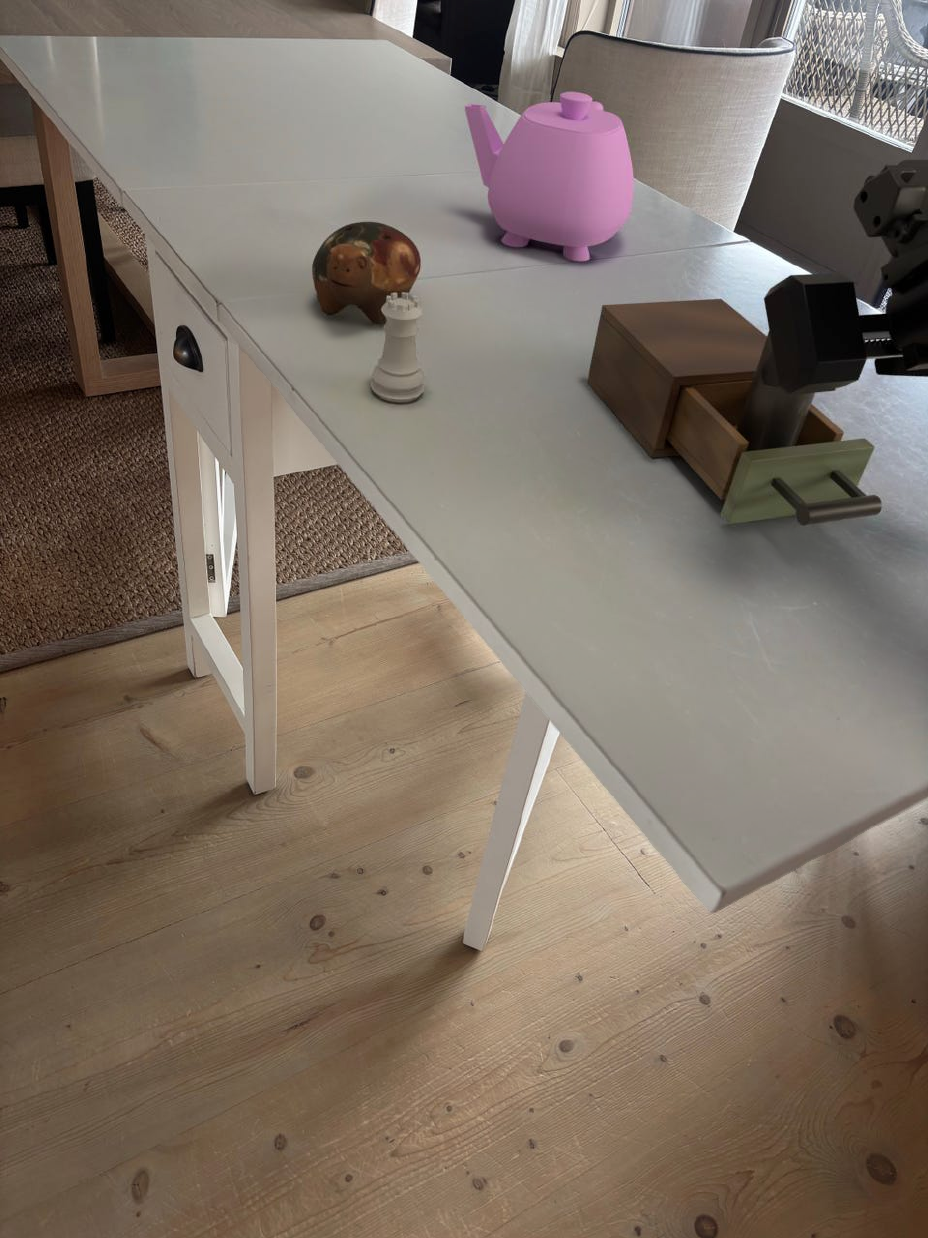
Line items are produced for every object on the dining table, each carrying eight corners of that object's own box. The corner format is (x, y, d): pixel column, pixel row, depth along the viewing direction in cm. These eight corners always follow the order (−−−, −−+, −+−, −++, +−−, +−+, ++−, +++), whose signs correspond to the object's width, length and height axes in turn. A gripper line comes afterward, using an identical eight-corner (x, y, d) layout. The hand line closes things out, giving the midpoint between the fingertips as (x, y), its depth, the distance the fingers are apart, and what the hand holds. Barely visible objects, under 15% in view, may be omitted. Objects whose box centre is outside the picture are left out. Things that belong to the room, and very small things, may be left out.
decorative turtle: (294, 334, 84) (289, 242, 80) (339, 282, 96) (337, 199, 92) (399, 346, 84) (401, 254, 79) (432, 292, 96) (435, 209, 91)
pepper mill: (791, 482, 70) (857, 316, 61) (734, 478, 70) (791, 310, 61) (776, 451, 73) (836, 288, 65) (721, 447, 73) (774, 283, 64)
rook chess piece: (383, 408, 76) (388, 314, 71) (362, 382, 79) (364, 290, 74) (433, 400, 78) (440, 307, 73) (410, 375, 81) (416, 284, 76)
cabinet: (775, 444, 78) (803, 366, 73) (652, 458, 75) (674, 376, 70) (700, 372, 87) (721, 298, 82) (586, 381, 83) (602, 304, 78)
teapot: (487, 190, 119) (502, 55, 109) (641, 223, 116) (670, 87, 106) (432, 238, 105) (443, 88, 95) (604, 278, 101) (635, 126, 91)
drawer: (887, 545, 67) (918, 483, 64) (764, 564, 64) (790, 500, 60) (764, 428, 78) (785, 370, 75) (654, 440, 75) (670, 379, 71)
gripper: (1125, 124, 51) (911, 250, 66) (846, 120, 46) (680, 259, 61) (1161, 323, 51) (938, 405, 66) (885, 344, 46) (709, 428, 60)
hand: (821, 371), depth 63 cm, fingers open, 9 cm apart
